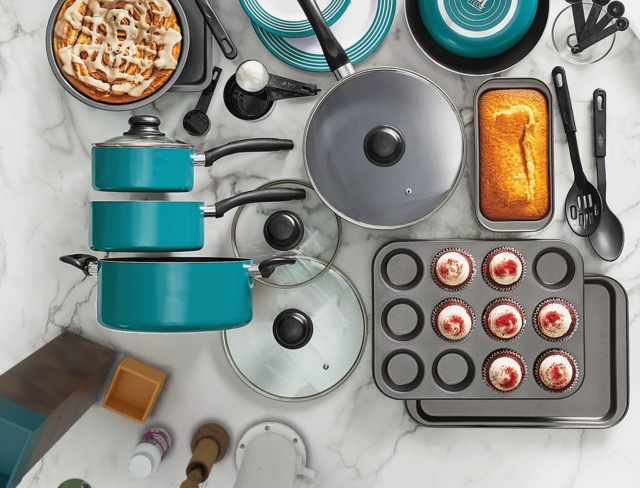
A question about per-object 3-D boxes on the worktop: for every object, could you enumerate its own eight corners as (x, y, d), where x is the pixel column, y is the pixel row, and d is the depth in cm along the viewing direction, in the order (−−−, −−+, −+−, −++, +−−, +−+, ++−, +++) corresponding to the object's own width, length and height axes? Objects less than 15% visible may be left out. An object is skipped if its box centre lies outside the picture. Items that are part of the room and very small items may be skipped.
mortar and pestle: (225, 462, 122) (203, 519, 104) (190, 455, 122) (162, 510, 104) (232, 426, 122) (211, 477, 104) (197, 419, 122) (170, 469, 104)
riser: (117, 351, 122) (46, 416, 94) (95, 401, 123) (19, 481, 95) (66, 329, 122) (-19, 387, 94) (45, 379, 123) (-46, 452, 95)
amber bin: (167, 374, 122) (160, 383, 118) (150, 414, 122) (142, 425, 118) (127, 356, 122) (118, 364, 118) (110, 396, 122) (100, 406, 118)
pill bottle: (177, 436, 122) (162, 462, 113) (162, 461, 123) (146, 489, 113) (151, 420, 122) (134, 445, 113) (136, 445, 123) (118, 472, 113)
